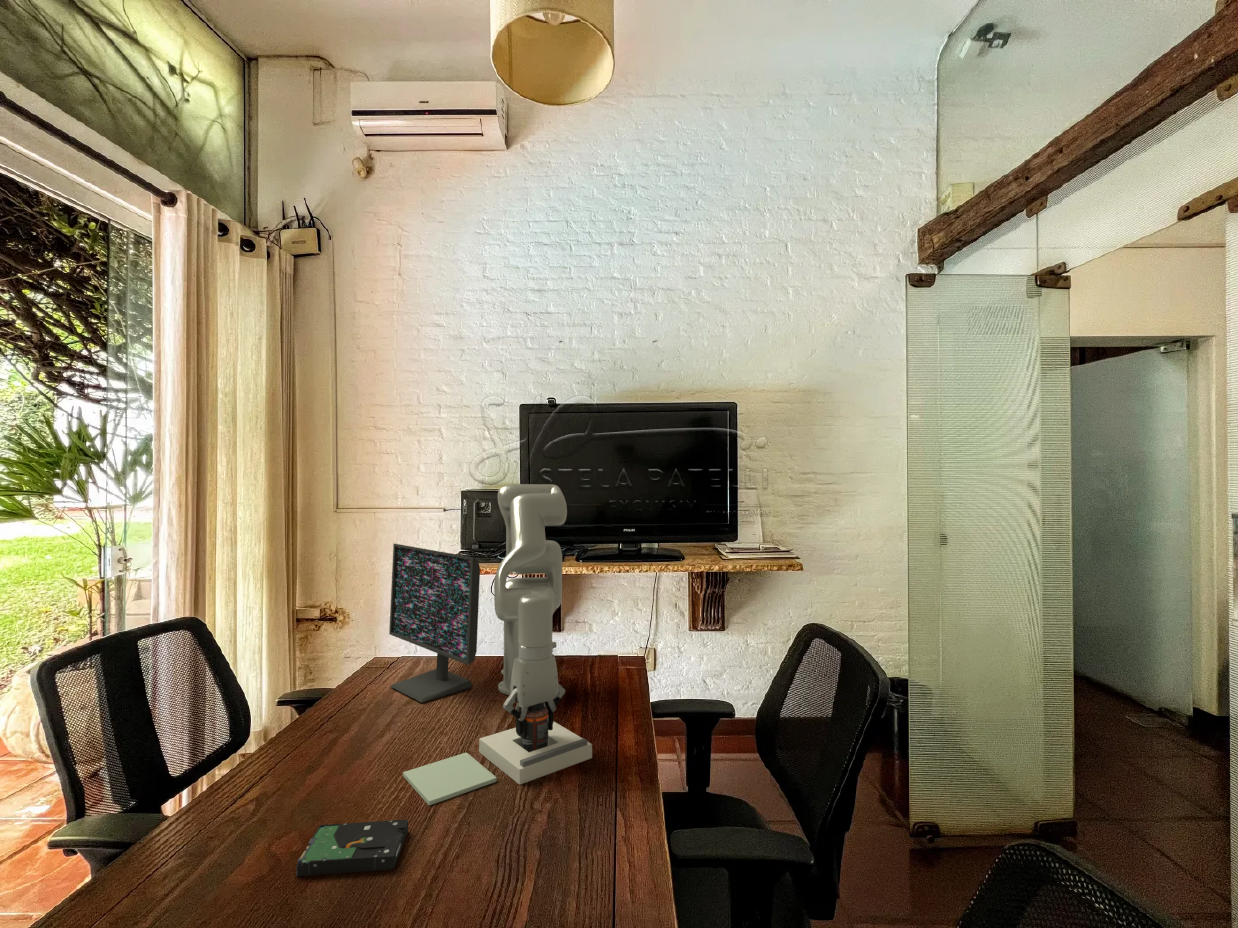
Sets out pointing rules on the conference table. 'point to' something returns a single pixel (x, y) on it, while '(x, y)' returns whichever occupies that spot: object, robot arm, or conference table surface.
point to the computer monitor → (435, 614)
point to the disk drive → (353, 848)
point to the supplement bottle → (536, 728)
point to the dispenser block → (534, 753)
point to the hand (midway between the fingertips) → (534, 731)
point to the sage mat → (448, 778)
